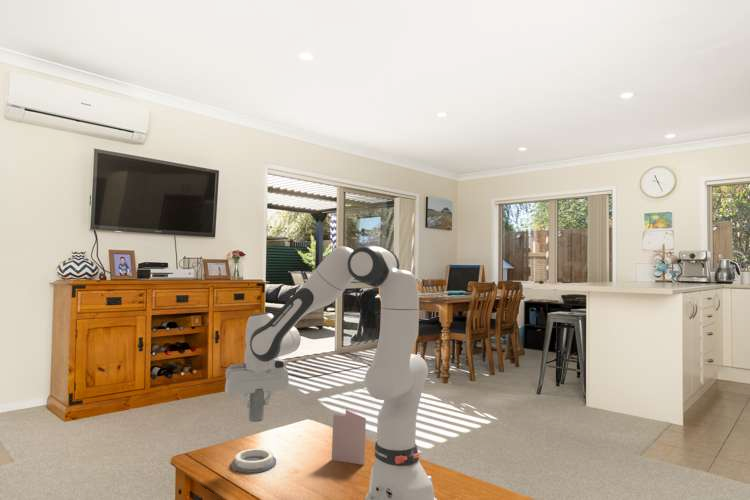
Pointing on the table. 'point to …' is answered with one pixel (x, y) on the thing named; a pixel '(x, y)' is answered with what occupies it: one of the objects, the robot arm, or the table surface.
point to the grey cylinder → (256, 406)
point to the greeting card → (348, 438)
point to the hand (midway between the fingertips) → (256, 405)
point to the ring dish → (255, 458)
